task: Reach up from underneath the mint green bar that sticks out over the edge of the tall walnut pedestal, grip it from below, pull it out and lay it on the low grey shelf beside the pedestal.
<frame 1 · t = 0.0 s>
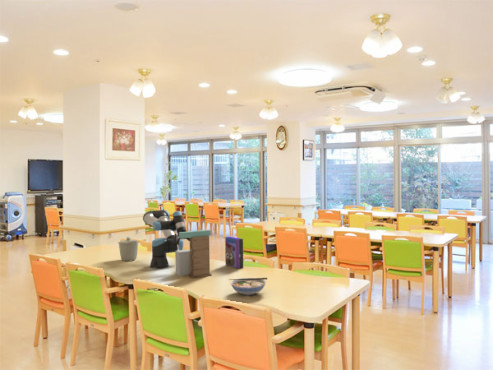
hand: (187, 251, 322), 15 cm above the table, tool tilted 35°, fingers open, 13 cm apart
pedestal: (200, 275, 306), on the table
mint green bar: (195, 236, 304), point 30 cm above the table, touching pedestal
ramen bowl: (248, 294, 258), on the table
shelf: (189, 273, 314), on the table
cereal box: (234, 266, 336), on the table
canister: (128, 260, 368), on the table
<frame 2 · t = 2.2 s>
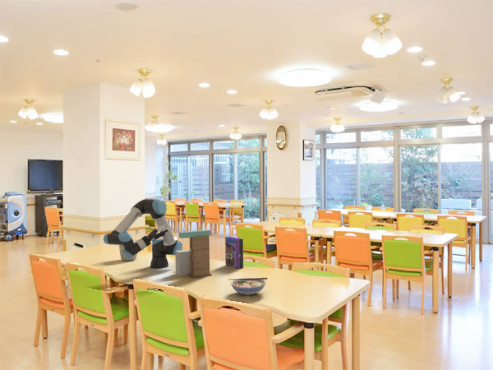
hand: (167, 226, 302), 38 cm above the table, tool pointing upward, fingers open, 13 cm apart
nothing on the table moved.
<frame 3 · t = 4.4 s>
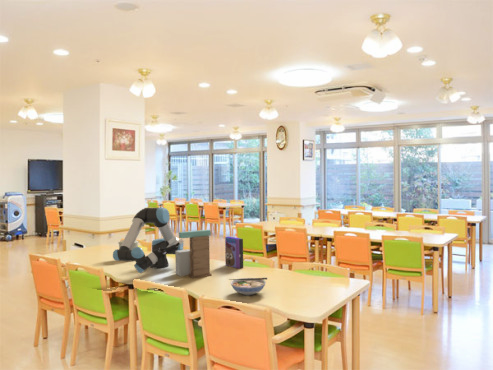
hand: (179, 239, 297), 29 cm above the table, tool pointing upward, fingers open, 13 cm apart
nothing on the table moved.
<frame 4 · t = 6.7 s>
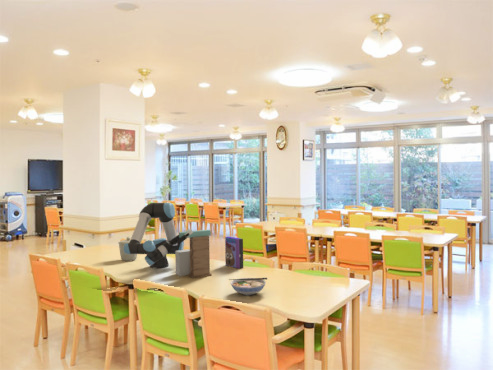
hand: (190, 230, 302), 35 cm above the table, tool pointing upward, fingers closed on mint green bar, 4 cm apart
mint green bar: (195, 236, 304), point 30 cm above the table, touching gripper, pedestal
everything else where it was.
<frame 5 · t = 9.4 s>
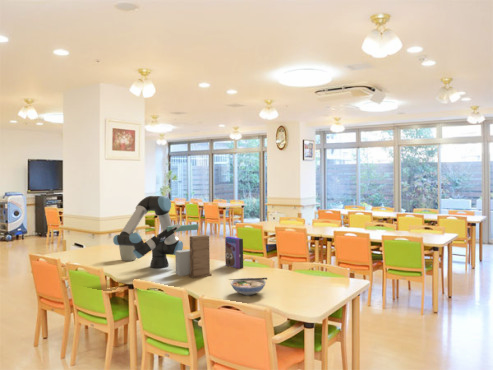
hand: (178, 224, 309), 38 cm above the table, tool pointing upward, fingers closed on mint green bar, 4 cm apart
mint green bar: (182, 230, 310), point 34 cm above the table, touching gripper
everything else where it was.
when the fingers open (25 cm above the table, at t = 12.4 s): mint green bar drops 2 cm, resting on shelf.
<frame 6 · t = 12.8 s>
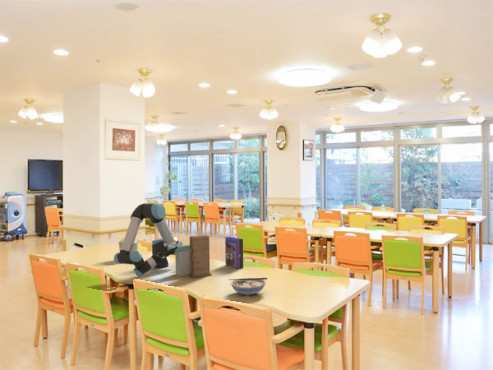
hand: (178, 243, 309), 24 cm above the table, tool pointing upward, fingers open, 9 cm apart
mint green bar: (183, 250, 311), point 18 cm above the table, touching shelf
everything else where it was.
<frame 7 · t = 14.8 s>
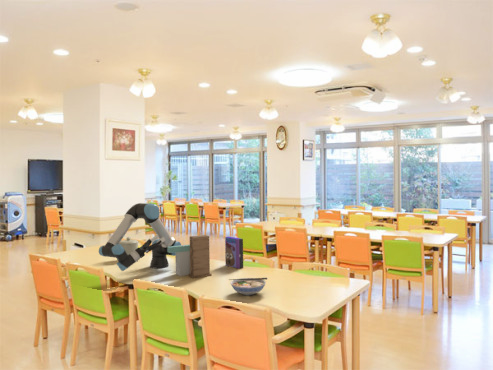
hand: (161, 237, 303), 30 cm above the table, tool pointing upward, fingers open, 13 cm apart
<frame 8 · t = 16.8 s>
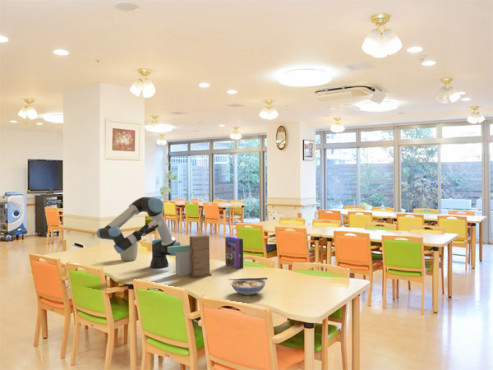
hand: (158, 221, 304), 42 cm above the table, tool pointing upward, fingers open, 13 cm apart
at the end: mint green bar inside the target area (0.6 cm from its centre), point 18.1 cm above the table; the gripper is holding nothing; mint green bar point 18.1 cm above the table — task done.
